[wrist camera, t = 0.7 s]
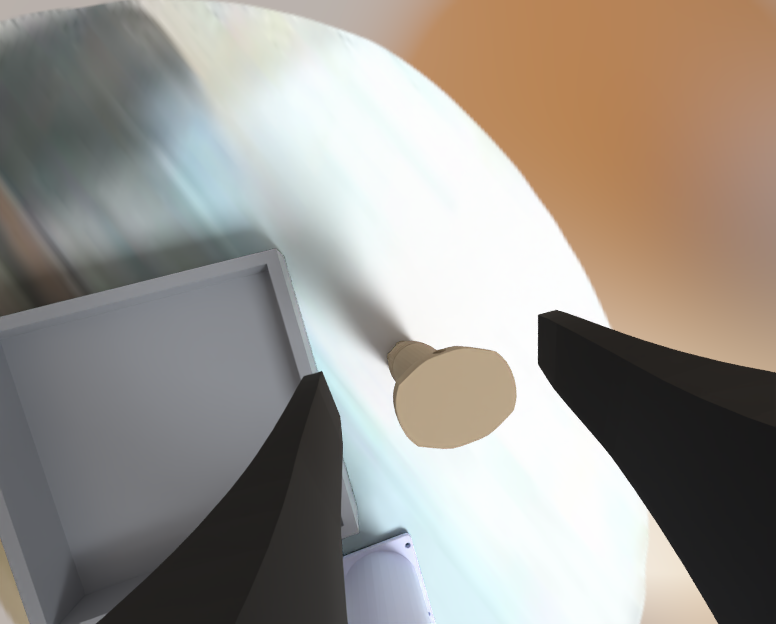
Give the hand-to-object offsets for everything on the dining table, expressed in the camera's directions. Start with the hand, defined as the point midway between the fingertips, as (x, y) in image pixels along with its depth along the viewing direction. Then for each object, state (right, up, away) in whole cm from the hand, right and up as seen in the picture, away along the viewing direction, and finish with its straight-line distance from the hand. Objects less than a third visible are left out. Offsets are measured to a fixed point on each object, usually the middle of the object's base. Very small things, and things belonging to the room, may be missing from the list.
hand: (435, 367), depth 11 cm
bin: (-19, -8, +18) cm, 28 cm away
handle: (0, -3, +21) cm, 21 cm away
